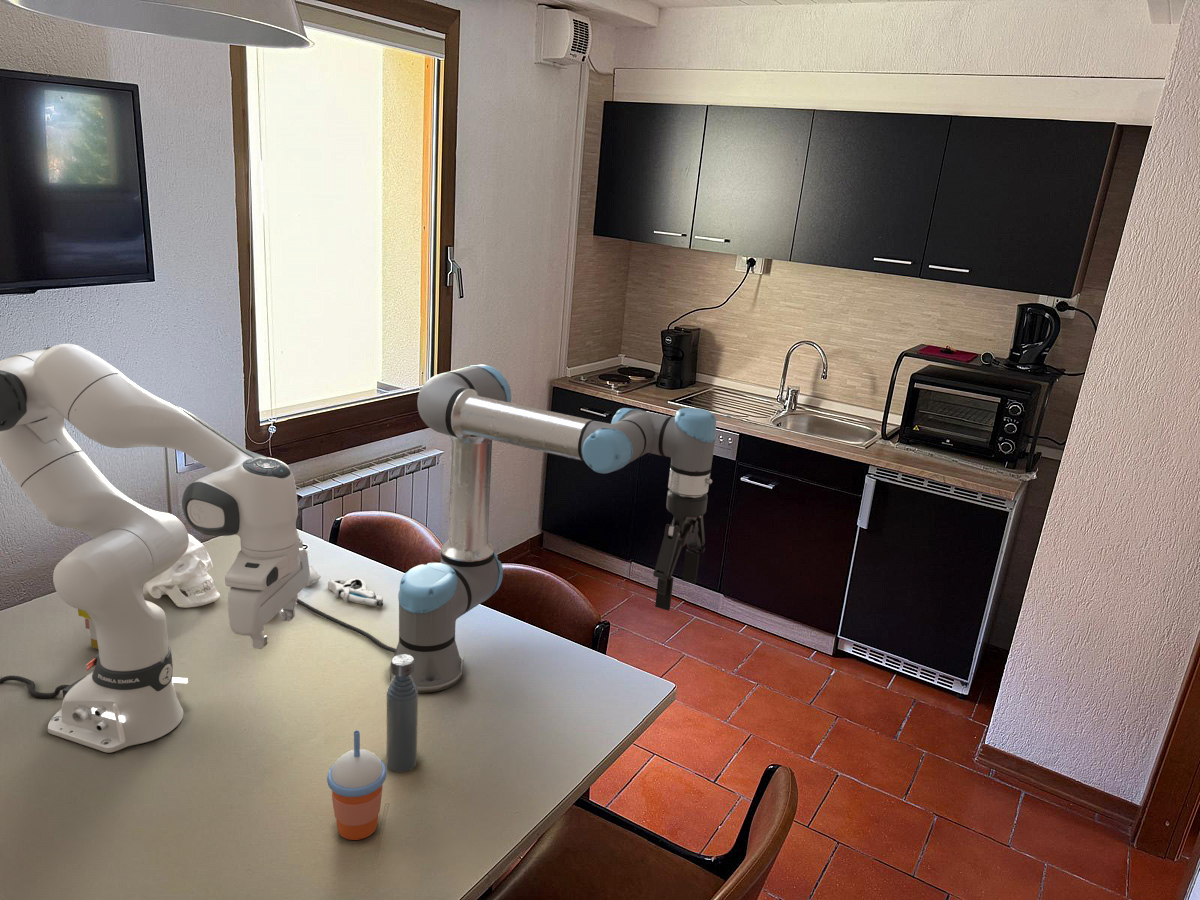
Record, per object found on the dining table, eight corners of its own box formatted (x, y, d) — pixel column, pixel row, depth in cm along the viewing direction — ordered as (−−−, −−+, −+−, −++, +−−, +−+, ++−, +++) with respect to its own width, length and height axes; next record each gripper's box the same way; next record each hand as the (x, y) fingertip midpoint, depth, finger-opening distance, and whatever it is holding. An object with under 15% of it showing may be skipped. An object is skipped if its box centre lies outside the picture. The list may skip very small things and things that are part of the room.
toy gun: (401, 592, 212) (372, 604, 203) (400, 601, 212) (371, 613, 204) (347, 571, 220) (317, 582, 212) (347, 580, 221) (317, 592, 212)
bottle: (387, 753, 157) (387, 653, 150) (417, 752, 158) (418, 653, 152) (385, 772, 152) (385, 670, 145) (416, 771, 153) (418, 669, 146)
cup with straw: (370, 852, 133) (370, 755, 128) (317, 840, 135) (314, 743, 130) (395, 813, 142) (396, 720, 137) (345, 802, 144) (343, 710, 138)
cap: (391, 665, 150) (391, 654, 150) (414, 664, 151) (414, 653, 151) (390, 677, 147) (390, 666, 146) (413, 676, 148) (413, 665, 147)
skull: (199, 617, 197) (196, 553, 193) (122, 598, 203) (118, 535, 198) (238, 594, 209) (237, 534, 205) (165, 577, 215) (162, 518, 211)
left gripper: (283, 530, 149) (286, 602, 153) (218, 581, 129) (223, 661, 133) (317, 534, 148) (319, 606, 152) (257, 586, 129) (262, 666, 133)
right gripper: (681, 516, 147) (669, 626, 153) (728, 478, 168) (716, 576, 174) (642, 506, 150) (631, 614, 156) (693, 470, 171) (682, 566, 178)
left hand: (274, 632), depth 143 cm, fingers open, 8 cm apart
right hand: (676, 594), depth 165 cm, fingers open, 13 cm apart
